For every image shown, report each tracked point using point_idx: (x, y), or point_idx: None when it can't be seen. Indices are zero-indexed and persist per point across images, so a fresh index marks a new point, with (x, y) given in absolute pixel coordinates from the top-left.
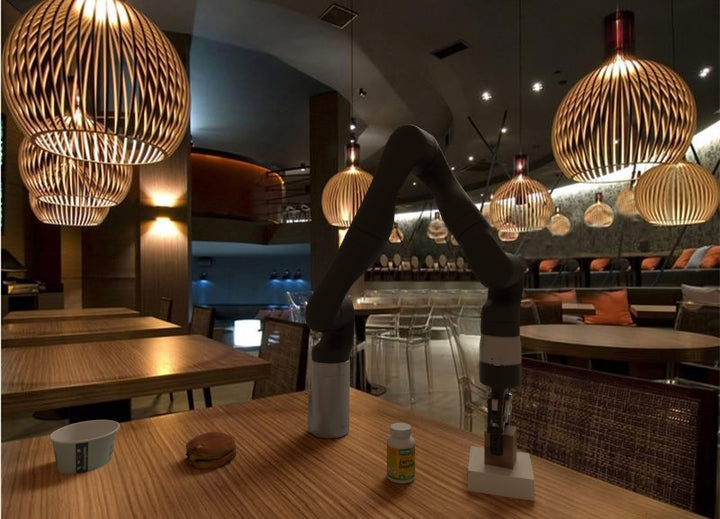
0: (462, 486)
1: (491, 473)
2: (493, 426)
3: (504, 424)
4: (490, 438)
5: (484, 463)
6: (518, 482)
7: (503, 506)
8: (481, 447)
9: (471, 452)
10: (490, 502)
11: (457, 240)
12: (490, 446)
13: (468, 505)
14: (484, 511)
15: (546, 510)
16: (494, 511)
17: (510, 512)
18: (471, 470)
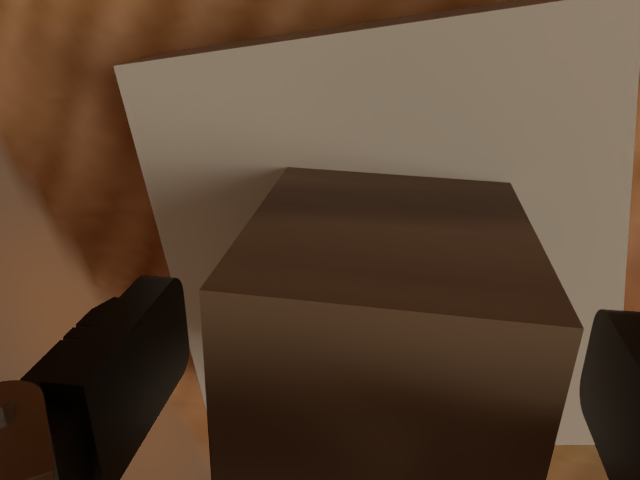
0: (206, 5)
1: (162, 228)
2: (425, 382)
3: (631, 477)
4: (73, 350)
5: (288, 168)
6: None
7: (120, 249)
8: (634, 99)
9: (474, 26)
10: (120, 189)
11: None
12: (117, 305)
13: (24, 84)
14: (23, 170)
15: (191, 411)
16: (52, 214)
17: (88, 280)
18: (126, 91)
